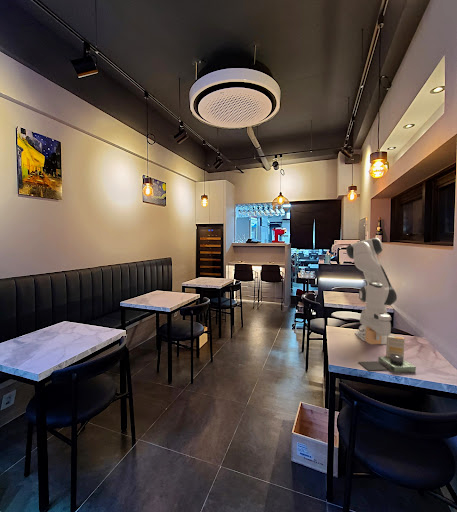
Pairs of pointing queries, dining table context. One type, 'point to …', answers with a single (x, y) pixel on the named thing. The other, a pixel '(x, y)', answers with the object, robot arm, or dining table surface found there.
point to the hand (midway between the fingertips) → (373, 337)
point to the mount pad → (373, 366)
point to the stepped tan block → (371, 336)
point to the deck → (397, 364)
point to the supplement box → (395, 345)
